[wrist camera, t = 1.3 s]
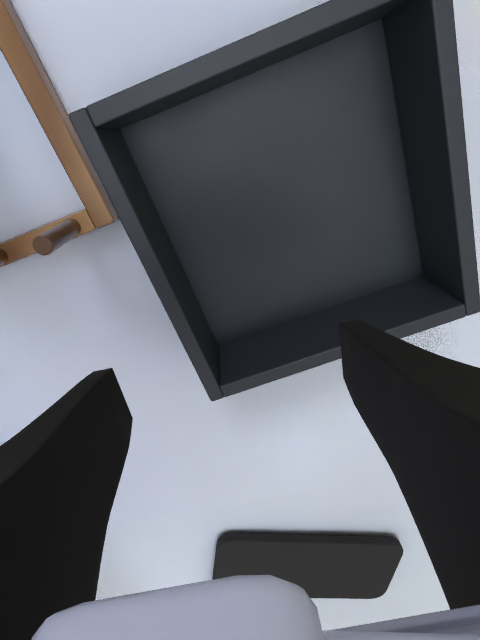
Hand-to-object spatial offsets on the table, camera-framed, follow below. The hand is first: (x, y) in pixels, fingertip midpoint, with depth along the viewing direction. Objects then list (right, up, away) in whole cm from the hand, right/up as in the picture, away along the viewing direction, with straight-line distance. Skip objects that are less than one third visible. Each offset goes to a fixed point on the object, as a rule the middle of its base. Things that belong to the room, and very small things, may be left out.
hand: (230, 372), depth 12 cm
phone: (+6, -18, +20) cm, 28 cm away
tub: (+3, +7, +7) cm, 11 cm away
